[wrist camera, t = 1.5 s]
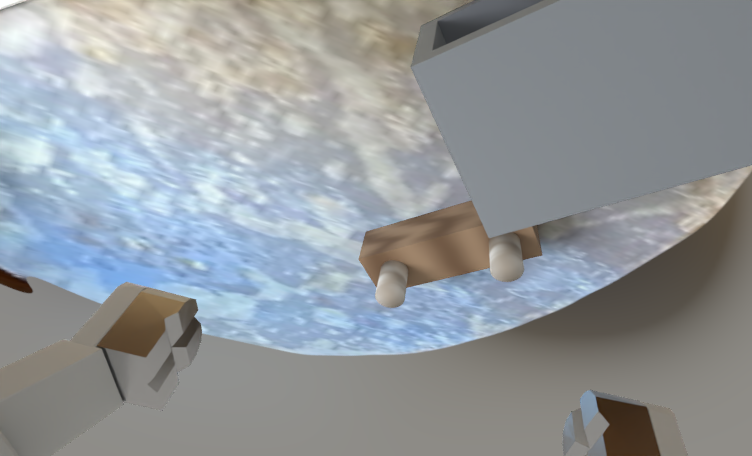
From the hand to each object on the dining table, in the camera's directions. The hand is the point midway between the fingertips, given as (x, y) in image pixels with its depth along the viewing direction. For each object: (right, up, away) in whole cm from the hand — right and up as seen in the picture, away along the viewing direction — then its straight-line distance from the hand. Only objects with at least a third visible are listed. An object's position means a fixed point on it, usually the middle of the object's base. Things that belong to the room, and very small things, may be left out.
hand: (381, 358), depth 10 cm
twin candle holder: (+8, +3, +44) cm, 44 cm away
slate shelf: (+17, +17, +30) cm, 39 cm away
